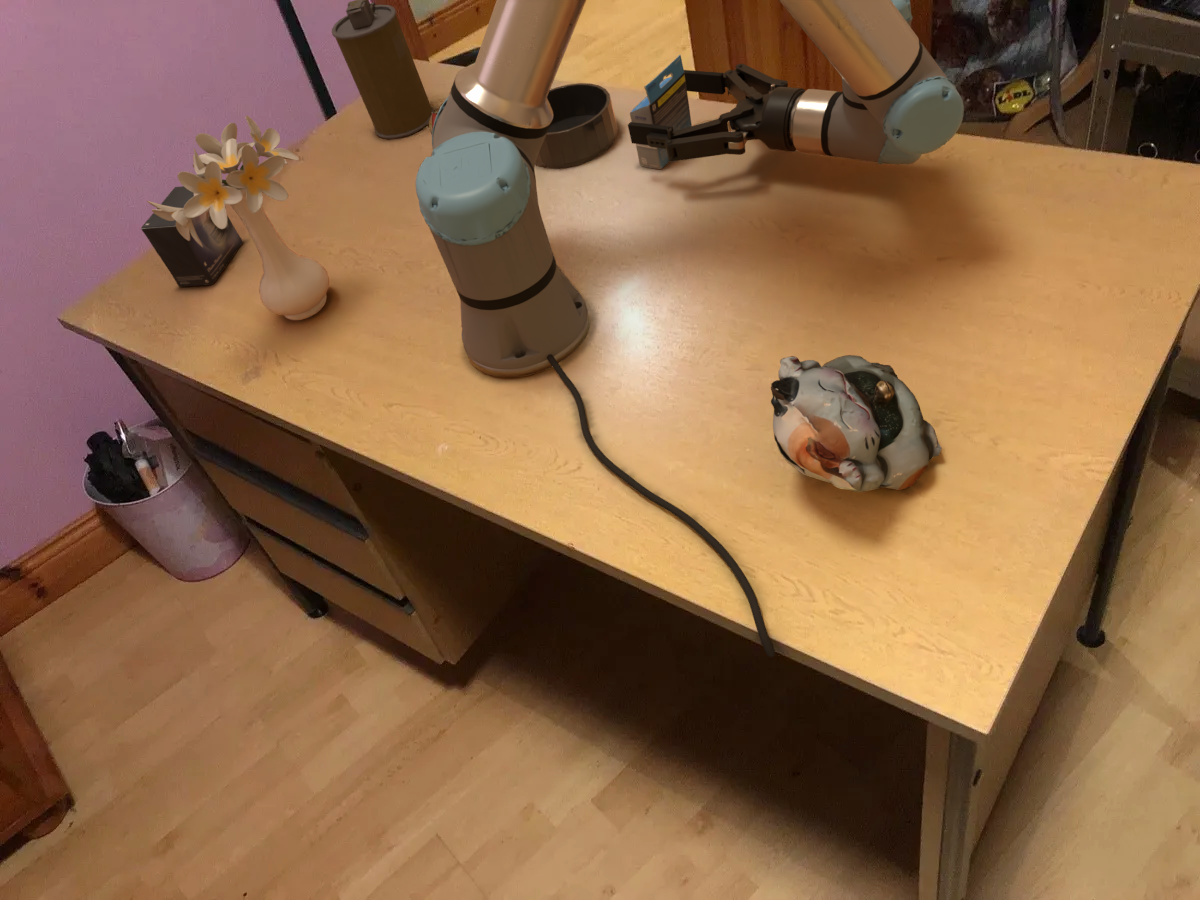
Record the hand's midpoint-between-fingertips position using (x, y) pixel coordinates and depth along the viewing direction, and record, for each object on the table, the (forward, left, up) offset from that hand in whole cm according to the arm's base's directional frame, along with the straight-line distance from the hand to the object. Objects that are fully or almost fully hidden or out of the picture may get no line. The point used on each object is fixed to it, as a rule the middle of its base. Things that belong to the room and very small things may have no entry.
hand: (656, 105), depth 128 cm
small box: (+47, +51, -7) cm, 70 cm away
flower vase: (+22, +50, -7) cm, 55 cm away
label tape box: (0, 0, -7) cm, 7 cm away
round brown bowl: (+16, +4, -7) cm, 17 cm away
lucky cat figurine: (-53, +35, -7) cm, 64 cm away
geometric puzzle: (+33, +12, -7) cm, 35 cm away
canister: (+50, +10, -7) cm, 51 cm away
